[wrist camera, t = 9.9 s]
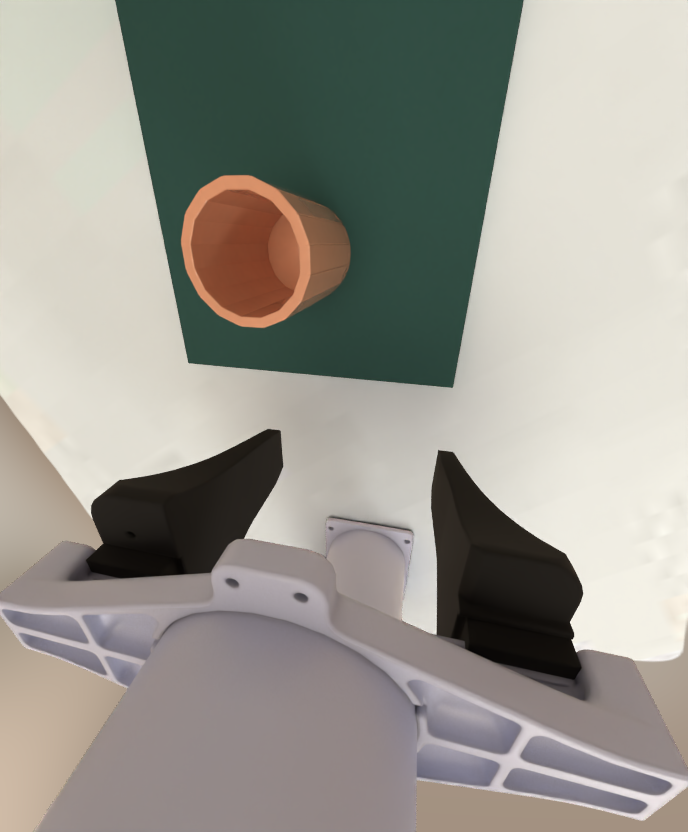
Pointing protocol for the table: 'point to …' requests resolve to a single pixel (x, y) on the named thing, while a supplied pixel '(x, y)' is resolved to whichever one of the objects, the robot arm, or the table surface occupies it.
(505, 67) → the mat
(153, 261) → the table surface
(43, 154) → the table surface
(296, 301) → the brown cup
